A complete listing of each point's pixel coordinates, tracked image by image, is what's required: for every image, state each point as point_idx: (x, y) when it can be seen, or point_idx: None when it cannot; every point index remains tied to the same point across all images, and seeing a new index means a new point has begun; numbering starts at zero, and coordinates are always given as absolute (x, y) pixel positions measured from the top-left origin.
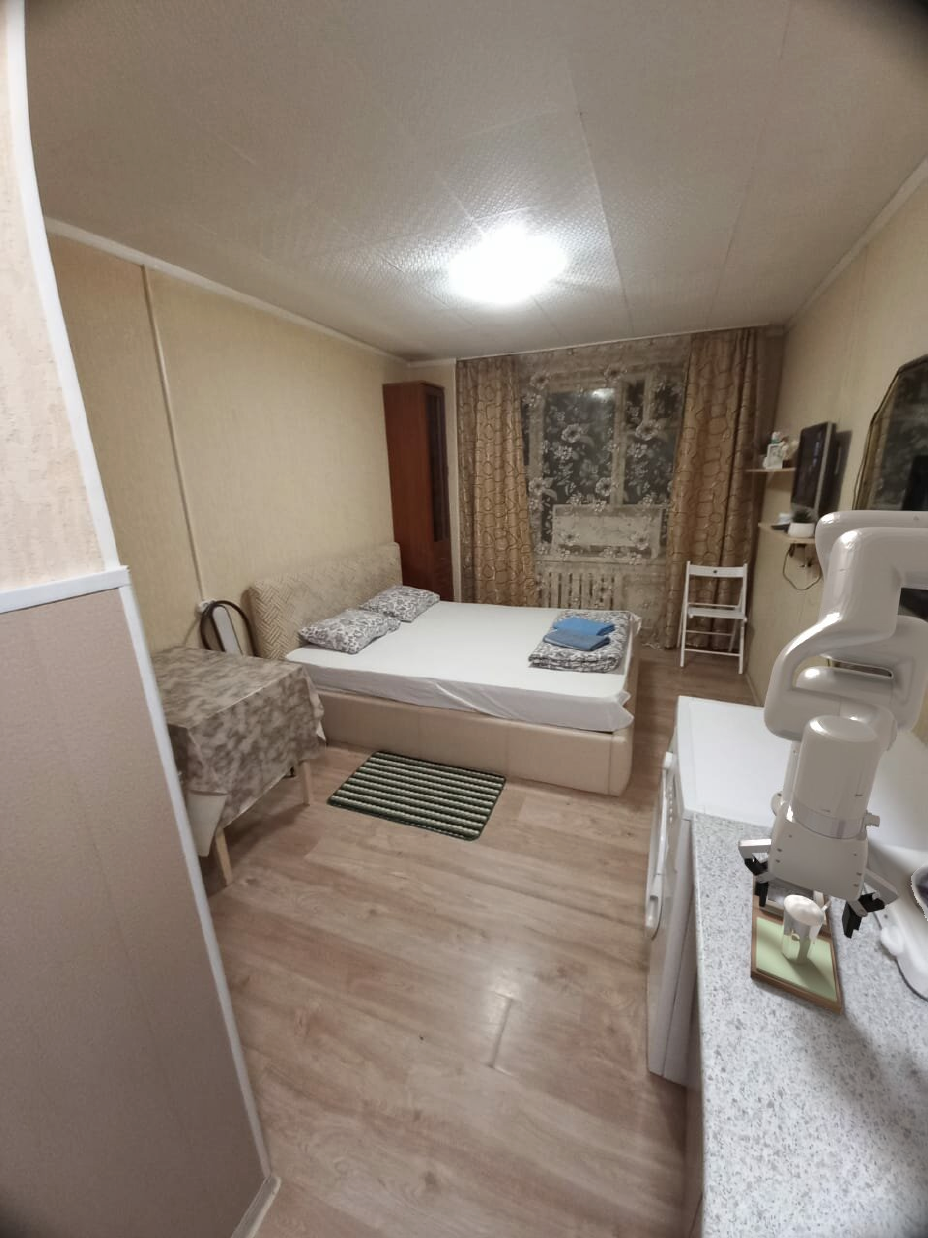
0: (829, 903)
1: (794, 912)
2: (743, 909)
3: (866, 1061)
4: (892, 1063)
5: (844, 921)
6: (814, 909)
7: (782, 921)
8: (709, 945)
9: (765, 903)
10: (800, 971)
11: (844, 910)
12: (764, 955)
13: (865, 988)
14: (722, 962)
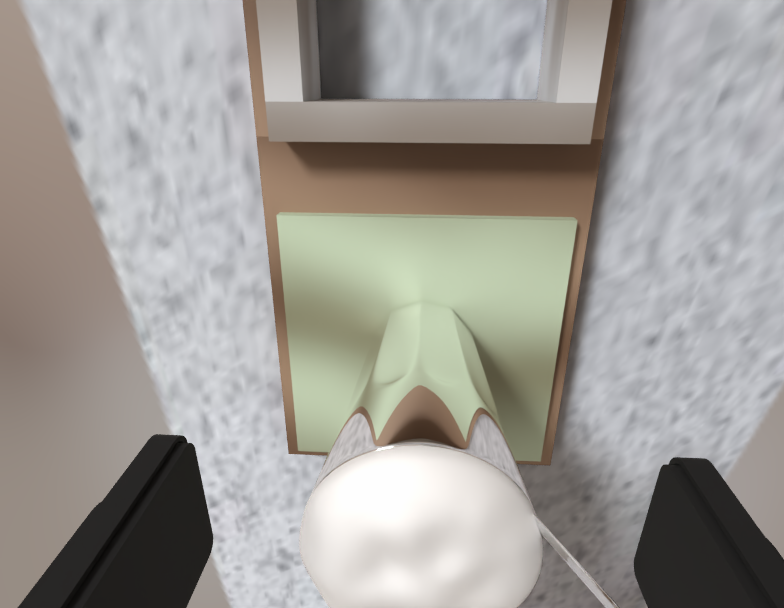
0: (602, 603)
1: None
2: (231, 133)
3: (578, 531)
4: (645, 513)
5: (670, 566)
6: (480, 600)
7: (387, 170)
8: (159, 377)
9: (197, 581)
10: None
11: (709, 557)
12: (320, 395)
13: (661, 316)
14: (211, 419)
